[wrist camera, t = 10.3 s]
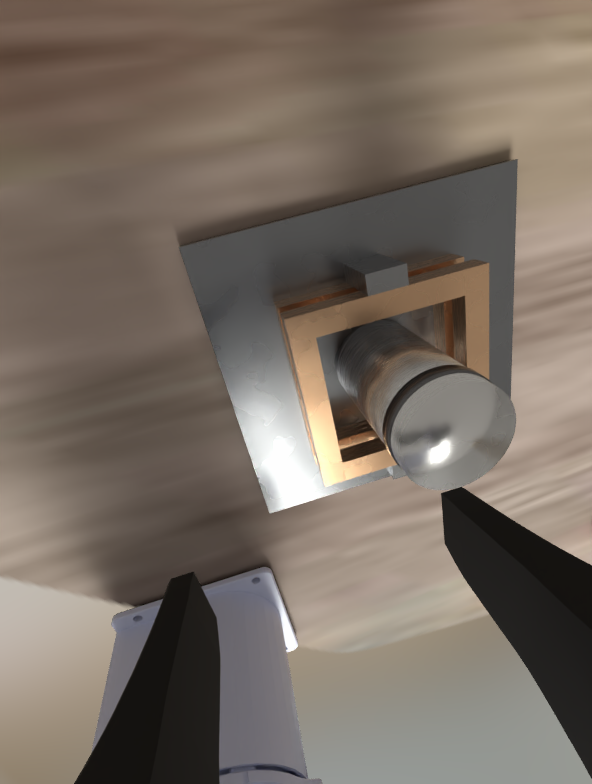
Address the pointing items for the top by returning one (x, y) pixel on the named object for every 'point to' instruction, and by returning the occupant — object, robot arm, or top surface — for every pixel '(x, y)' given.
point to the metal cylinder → (425, 405)
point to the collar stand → (353, 315)
